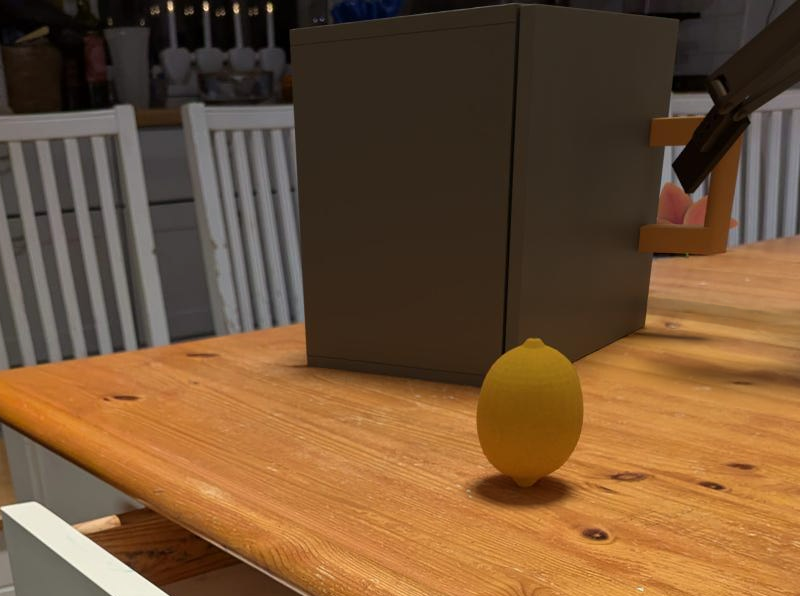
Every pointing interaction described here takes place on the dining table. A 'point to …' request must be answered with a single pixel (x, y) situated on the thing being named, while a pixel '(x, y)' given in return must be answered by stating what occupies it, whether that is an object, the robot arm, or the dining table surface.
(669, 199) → the lily
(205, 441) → the dining table surface
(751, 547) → the dining table surface
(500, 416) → the lemon
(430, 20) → the cupboard
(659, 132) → the cupboard door
